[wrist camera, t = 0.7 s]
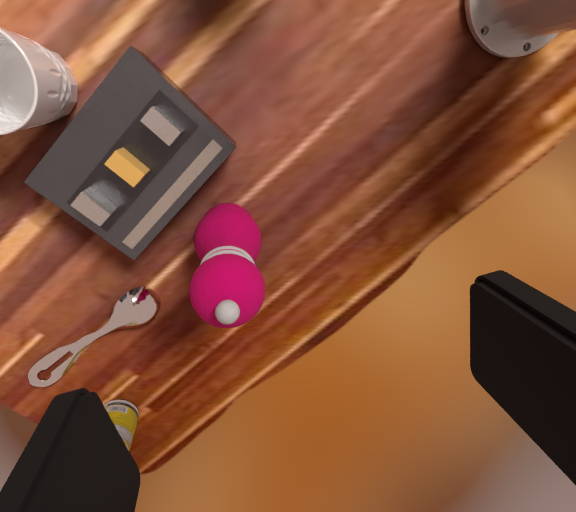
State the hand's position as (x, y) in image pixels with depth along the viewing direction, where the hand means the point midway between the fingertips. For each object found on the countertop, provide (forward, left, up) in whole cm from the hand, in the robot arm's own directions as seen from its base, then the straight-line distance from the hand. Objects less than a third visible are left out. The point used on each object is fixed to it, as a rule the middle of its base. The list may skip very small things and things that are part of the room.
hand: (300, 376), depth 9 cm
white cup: (+8, -19, -36) cm, 41 cm away
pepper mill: (+7, +4, -36) cm, 36 cm away
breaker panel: (+7, -8, -35) cm, 37 cm away
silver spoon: (+29, +1, -36) cm, 46 cm away
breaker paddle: (+7, -8, -30) cm, 32 cm away
